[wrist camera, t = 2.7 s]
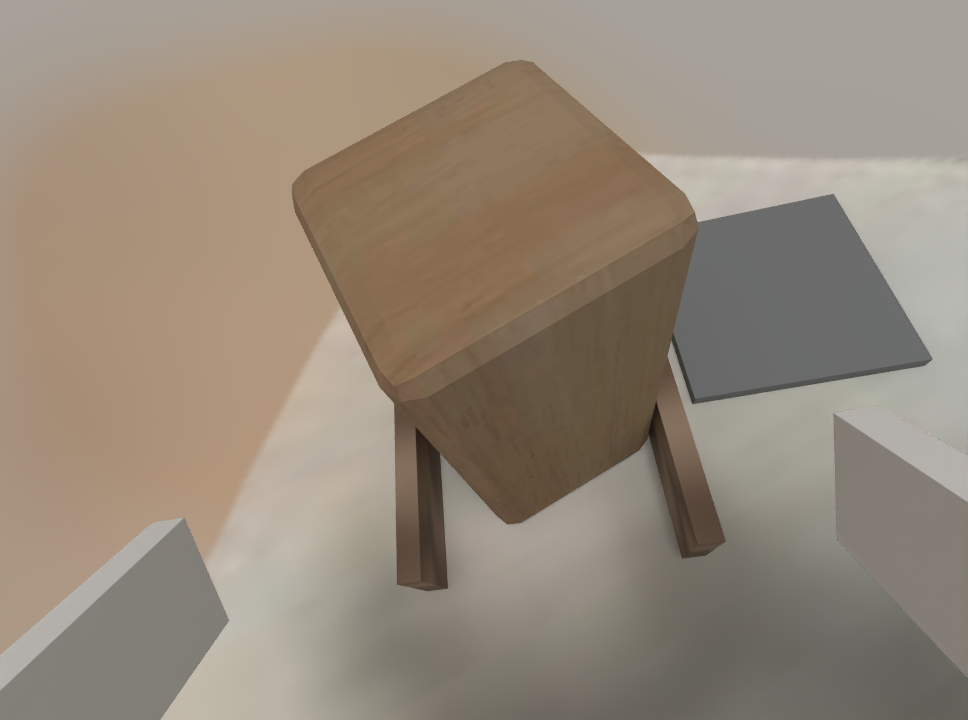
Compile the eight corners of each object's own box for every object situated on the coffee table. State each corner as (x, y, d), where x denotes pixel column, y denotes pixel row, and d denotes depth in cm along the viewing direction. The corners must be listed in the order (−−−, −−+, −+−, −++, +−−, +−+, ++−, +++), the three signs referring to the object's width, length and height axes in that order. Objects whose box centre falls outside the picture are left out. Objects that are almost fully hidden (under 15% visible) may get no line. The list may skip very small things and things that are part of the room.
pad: (924, 365, 29) (932, 359, 29) (692, 403, 31) (695, 398, 30) (829, 202, 36) (833, 194, 35) (640, 241, 37) (640, 234, 37)
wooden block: (436, 401, 35) (271, 173, 17) (561, 328, 35) (524, 37, 18) (508, 534, 30) (379, 401, 12) (652, 445, 30) (722, 202, 13)
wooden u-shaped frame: (705, 555, 27) (725, 541, 23) (427, 591, 29) (397, 584, 25) (629, 296, 35) (634, 249, 31) (417, 337, 37) (392, 299, 33)
